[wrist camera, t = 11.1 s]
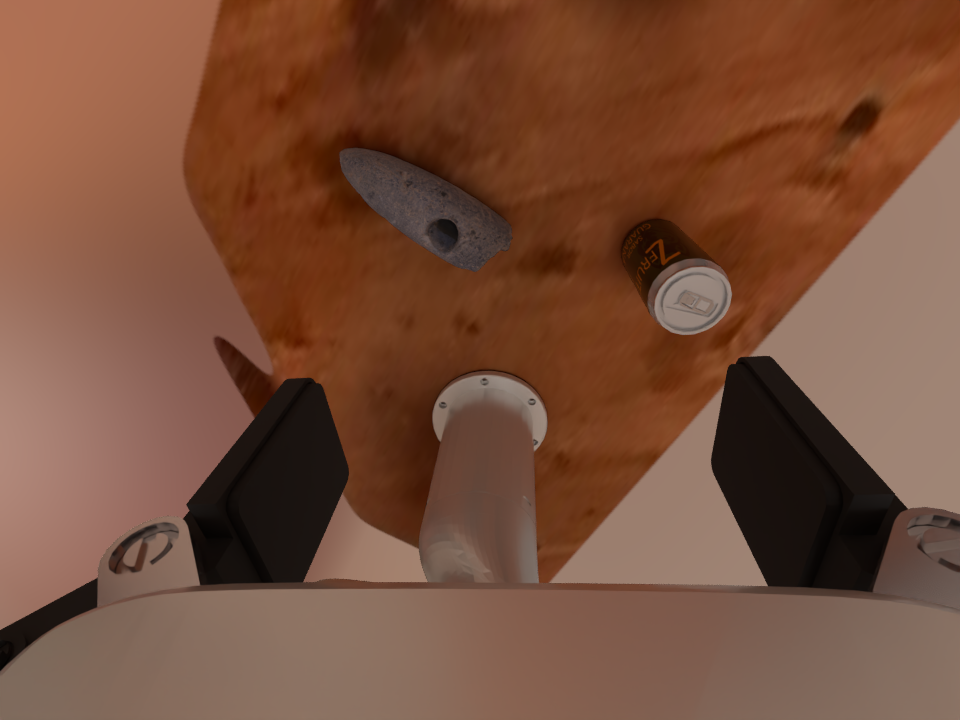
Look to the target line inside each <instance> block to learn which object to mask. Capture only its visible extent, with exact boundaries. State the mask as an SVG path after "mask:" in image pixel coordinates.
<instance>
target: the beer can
mask: <svg viewBox="0 0 960 720" xmlns="http://www.w3.org/2000/svg"><path fill="white" fill-rule="evenodd" d="M621 258H622V261H623V264H624V267H625V269H626V271H627V272H628V274H629V276H630V278H631V280H632V282H633V283H634V285H635V287H636V289H637V291H638V293H639V294H640V296H641V298H642V300H643V302H644V304H645V305H646V307H647V309H648V311H649V313H650V315H651V316H652V317H653V318H654V320H655V321H656V322H657V323H658V324H660V325H661V326H663V327H664V328H666V329H667V330H669V331H671V332H672V333H677V334H681V335H688V334H696V333H699V332H703V331H706V330H707V329H709V328H711V327H712V326H714V325H715V324H717V323H718V322H719V321H720V320H721V319H722V317H723V316H724V315H725V314H726V312H727V310H728V308H729V306H730V302H731V296H732V293H731V288H730V284H729V281H728V277H727V275H726V274H725V272H724V271H723V269H722V268H721V267H720V266H719V265H718V264H717V263H716V262H715V261H714V260H713V259H712V258H711V257H709V256H708V255H707V254H706V253H705V252H704V251H703V250H702V249H701V248H700V247H699V246H698V245H697V244H696V243H695V242H694V241H692V240H691V239H690V238H689V237H688V236H687V235H686V234H685V233H684V232H683V231H682V230H681V229H680V228H679V227H677V226H676V225H674V224H673V223H671V222H670V221H665V220H661V219H658V220H649V221H647V222H644V223H642V224H640V225H638V226H637V227H636V228H634V229H633V230H632V231H631V232H630V233H629V235H628V236H627V237H626V239H625V241H624V244H623V246H622V255H621Z"/></svg>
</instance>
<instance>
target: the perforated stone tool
mask: <svg viewBox="0 0 960 720" xmlns="http://www.w3.org/2000/svg"><path fill="white" fill-rule="evenodd" d="M340 163H341V169H342V171H343V173H344V175H345V177H346V178H347V180H348V181H349V182H350V183H351V185H352V186H353V187H354V188H355V189H356V191H357V192H358V193H359V194H361V196H362V198H363V199H364V200H365V201H366V203H367V204H368V205H369V206H370V207H371V208H373V209H374V210H375V211H376V212H377V213H378V214H380V215H381V216H382V217H384V218H386V219H387V220H388V221H389V222H390V223H391V224H392V225H393V226H394V227H396V228H397V229H398V230H399V231H401V232H402V233H404V234H405V235H406V236H408V237H409V238H410V239H412V240H413V241H415V242H416V243H418V244H419V245H421V246H423V247H424V248H426V249H427V250H429V251H430V252H432V253H433V254H435V255H437V256H438V257H440V258H442V259H443V260H445V261H447V262H448V263H451V264H452V265H454V266H456V267H459V268H461V269H468V270H472V271H474V272H476V271H478V270H479V269H480V268H481V267H482V266H484V265H485V263H486V262H487V260H489V259H490V258H492V257H493V256H494V255H496V254H497V253H498V252H499V251H500V250H503V251H507V250H508V249H509V247H510V243H511V242H510V241H511V239H512V235H511V233H512V228H511V225H510V224H509V223H508V222H507V221H506V220H504V219H503V218H502V217H501V216H500V215H498V214H497V213H496V212H494V211H493V210H492V209H490V208H489V207H487V206H486V205H484V204H483V203H481V202H480V201H479V200H477V199H476V198H474V197H472V196H471V195H469V194H468V193H466V192H464V191H463V190H461V189H460V188H458V187H456V186H454V185H453V184H451V183H449V182H447V181H445V180H443V179H442V178H440V177H438V176H436V175H434V174H432V173H430V172H428V171H426V170H423V169H421V168H419V167H417V166H415V165H413V164H410V163H408V162H406V161H403V160H401V159H398V158H396V157H394V156H391V155H388V154H385V153H382V152H378V151H374V150H369V149H363V148H348V149H343V151H341V152H340Z"/></svg>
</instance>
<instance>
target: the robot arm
mask: <svg viewBox="0 0 960 720" xmlns="http://www.w3.org/2000/svg"><path fill="white" fill-rule="evenodd" d="M484 378H485V379H484ZM531 398H532V399H531ZM432 423H433V428H434V431H435V434H436V436H437V438H438V439H439V441H440V442H441V443H440V447H439V452H438V456H437V460H436V465H435V469H434V473H433V478H432V482H431V486H430V491H429V495H428V499H427V504H426V508H425V513H424V517H423V521H422V526H421V530H420V536H419V553H420V560H421V564H422V568H423V570H424V573H425V576H426V578H427V581H428V582H427V583H426V582H379V583H378V582H367V581H358V580H349V579H325V580H320V581H317V582H309V583H308V582H306V583H305V582H303V581H304V579H305V576H306V574H307V572H308V570H309V567H310V565H311V563H312V561H313V558H314V556H315V554H316V552H317V549H318V547H319V545H320V542H321V540H322V538H323V536H324V533H325V531H326V529H327V526H328V524H329V522H330V520H331V517H332V515H333V512H334V510H335V508H336V506H337V504H338V501H339V499H340V497H341V495H342V492H343V490H344V488H345V485H346V483H347V480H348V476H349V469H348V464H347V461H346V458H345V455H344V452H343V449H342V446H341V443H340V440H339V436H338V433H337V430H336V427H335V424H334V421H333V418H332V415H331V411H330V408H329V405H328V402H327V399H326V396H325V393H324V390H323V387H322V386H321V384H319V383H315V381H314V380H313V379H312V378H296V379H287V380H285V381H284V382H283V384H282V385H281V386H280V387H279V389H278V390H277V391H276V392H275V394H274V395H273V396H272V397H271V399H270V400H269V401H268V402H267V404H266V405H265V406H264V407H263V409H262V410H261V411H260V413H259V414H258V415H257V416H256V418H255V419H254V420H253V421H252V423H251V424H250V425H249V427H248V428H247V429H246V430H245V432H244V433H243V434H242V435H241V436H240V438H239V439H238V440H237V441H236V443H235V444H234V445H233V446H232V448H231V449H230V450H229V451H228V453H227V454H226V455H225V456H224V458H223V459H222V460H221V462H220V463H219V464H218V465H217V467H216V468H215V469H214V470H213V472H212V473H211V474H210V475H209V477H208V478H207V479H206V480H205V482H204V483H203V484H202V486H201V487H200V488H199V489H198V490H197V492H196V493H195V494H194V496H193V497H192V498H191V499H190V500H189V502H188V503H187V507H188V509H189V510H190V511H189V512H188V513H187V514H186V516H185V517H184V518H183V519H181V518H179V517H175V516H165V517H159V518H155V519H152V520H150V521H147V522H144V523H142V524H140V525H138V526H136V527H134V528H132V529H131V530H129V531H128V532H126V533H125V534H124V535H122V536H121V537H119V538H118V539H117V540H116V541H115V542H114V543H113V544H112V545H111V546H110V547H109V548H108V549H107V550H106V552H105V554H104V555H103V557H102V558H101V560H100V563H99V567H98V578H97V579H95V580H93V581H91V582H89V583H87V584H85V585H84V586H81V587H80V588H78V589H76V590H74V591H72V592H70V593H68V594H67V595H65V596H63V597H61V598H59V599H57V600H55V601H54V602H52V603H50V604H48V605H46V606H44V607H42V608H41V609H39V610H37V611H35V612H33V613H31V614H29V615H28V616H26V617H24V618H22V619H20V620H18V621H16V622H14V623H13V624H11V625H9V626H7V627H5V628H3V629H1V630H0V720H960V514H957V513H953V512H949V511H946V510H942V509H935V508H928V507H922V508H910V509H907V507H906V506H905V505H904V504H903V503H902V502H901V501H900V500H899V499H898V497H897V496H896V495H895V493H894V492H893V491H892V490H891V489H890V488H889V487H888V486H887V485H886V483H885V482H884V481H883V480H882V479H881V478H880V477H879V476H878V475H877V474H876V472H875V471H874V470H873V469H872V468H871V467H870V466H869V465H868V464H867V462H866V461H865V460H864V459H863V458H862V457H861V456H860V455H859V454H858V452H857V451H856V450H855V449H854V448H853V447H852V446H851V445H850V444H849V443H848V441H847V440H846V439H845V438H844V437H843V436H842V435H841V434H840V433H839V431H838V430H837V429H836V428H835V427H834V426H833V425H832V424H831V423H830V422H829V420H828V419H827V418H826V417H825V416H824V415H823V414H822V413H821V411H820V410H819V409H818V408H817V407H816V406H815V405H814V404H813V403H812V401H811V400H810V399H809V398H808V397H807V396H806V395H805V394H804V393H803V391H802V390H801V389H800V388H799V387H798V386H797V385H796V384H795V383H794V382H793V380H791V378H790V377H789V376H788V375H787V374H786V373H785V372H784V370H783V369H782V368H781V367H780V366H779V365H778V364H777V363H776V362H775V360H774V359H773V358H771V357H770V356H757V357H740V358H739V359H738V360H737V362H736V364H731V365H729V367H728V370H727V375H726V380H725V386H724V392H723V397H722V403H721V408H720V413H719V419H718V424H717V429H716V435H715V441H714V446H713V452H712V458H711V465H712V470H713V473H714V476H715V478H716V480H717V482H718V484H719V486H720V488H721V490H722V492H723V494H724V496H725V498H726V500H727V502H728V505H729V506H730V509H731V511H732V513H733V515H734V517H735V519H736V521H737V523H738V525H739V527H740V529H741V531H742V533H743V535H744V537H745V540H746V541H747V544H748V546H749V548H750V550H751V552H752V554H753V556H754V558H755V560H756V562H757V564H758V566H759V568H760V570H761V572H762V574H763V576H764V578H765V581H766V583H767V585H768V586H734V585H733V586H732V585H675V584H671V585H670V584H589V583H588V584H587V583H539V579H538V565H537V542H536V507H535V473H534V452H535V450H536V449H537V448H538V447H539V446H540V445H541V443H542V441H543V440H544V437H545V434H546V431H547V412H546V409H545V405H544V403H543V401H542V399H541V397H540V396H539V394H538V393H537V392H536V391H535V390H534V389H533V388H532V387H531V386H530V385H529V384H527V383H526V382H525V381H523V380H521V379H519V378H517V377H515V376H513V375H510V374H507V373H503V372H497V371H478V372H473V373H469V374H466V375H463V376H460V377H458V378H457V379H455V380H453V381H452V382H450V383H449V384H448V385H447V386H446V387H445V388H444V389H443V390H442V391H441V393H440V394H439V395H438V398H437V400H436V402H435V405H434V409H433V416H432Z"/></svg>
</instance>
